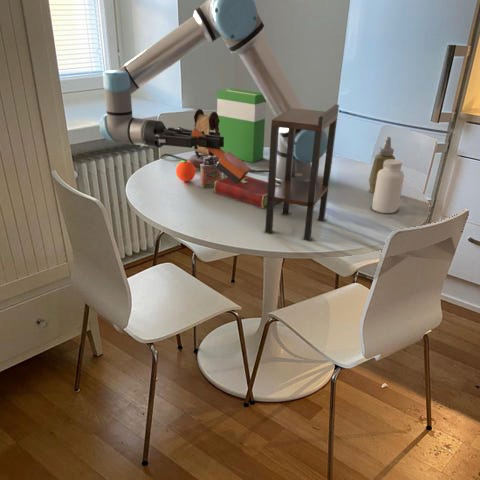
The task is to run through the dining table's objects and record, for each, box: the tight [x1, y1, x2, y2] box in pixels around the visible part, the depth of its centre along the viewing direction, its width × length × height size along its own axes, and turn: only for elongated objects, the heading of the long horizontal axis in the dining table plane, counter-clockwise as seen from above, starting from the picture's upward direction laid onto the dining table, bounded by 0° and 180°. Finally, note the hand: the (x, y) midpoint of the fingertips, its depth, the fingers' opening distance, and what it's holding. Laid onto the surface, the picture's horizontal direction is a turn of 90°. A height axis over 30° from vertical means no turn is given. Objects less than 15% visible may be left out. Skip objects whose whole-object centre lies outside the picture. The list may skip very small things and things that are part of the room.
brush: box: [191, 129, 251, 184], centre depth 148 cm, size 19×6×4 cm
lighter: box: [200, 156, 223, 189], centre depth 175 cm, size 8×3×10 cm, turn 117°
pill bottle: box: [371, 158, 405, 214], centre depth 158 cm, size 8×8×15 cm
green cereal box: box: [216, 87, 267, 163], centre depth 202 cm, size 18×7×24 cm, turn 55°
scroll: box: [187, 108, 220, 169], centre depth 190 cm, size 15×15×20 cm
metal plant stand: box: [264, 104, 340, 241], centre depth 141 cm, size 13×17×32 cm
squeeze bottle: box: [368, 136, 396, 194], centre depth 171 cm, size 8×8×18 cm
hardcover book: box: [213, 175, 280, 209], centre depth 169 cm, size 12×21×4 cm, turn 49°
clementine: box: [175, 160, 196, 182], centre depth 179 cm, size 8×7×7 cm
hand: (221, 143), depth 145 cm, fingers closed on brush, 2 cm apart
